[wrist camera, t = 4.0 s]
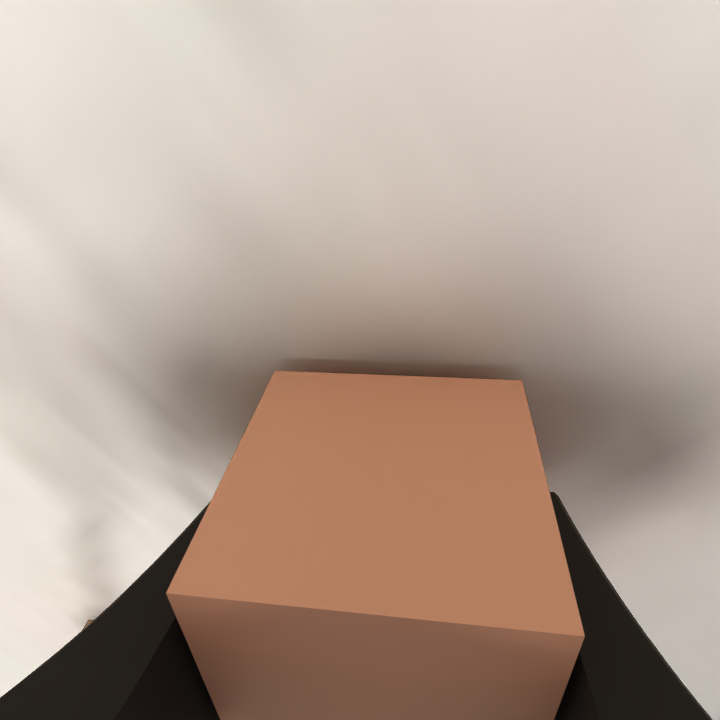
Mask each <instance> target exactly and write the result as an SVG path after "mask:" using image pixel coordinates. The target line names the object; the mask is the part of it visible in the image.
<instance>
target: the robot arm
mask: <svg viewBox="0 0 720 720" xmlns="http://www.w3.org/2000/svg"><path fill="white" fill-rule="evenodd" d="M550 496H551V500H552V504H553V508H554V512H555V516H556V520H557V524H558V529H559V533H560V537H561V541H562V545H563V549H564V553H565V557H566V561H567V565H568V569H569V573H570V578H571V582H572V586H573V590H574V594H575V598H576V602H577V606H578V610H579V614H580V618H581V623H582V627H583V631H584V635H585V637H584V640H583V643H582V646H581V648H580V651H579V654H578V656H577V659H576V662H575V664H574V667H573V670H572V673H571V675H570V678H569V681H568V683H567V686H566V689H565V691H564V694H563V697H562V700H561V702H560V705H559V708H558V710H557V713H556V716H555V718H554V720H712V719H711V717H710V716H709V715H708V714H707V713H706V711H705V710H704V709H703V708H702V706H701V705H700V704H699V703H698V702H697V700H696V699H695V698H694V697H693V695H692V694H691V693H690V692H689V690H688V689H687V688H686V687H685V685H684V684H683V683H682V681H681V680H680V679H679V678H678V676H677V675H676V674H675V672H674V671H673V670H672V668H671V667H670V666H669V665H668V663H667V662H666V661H665V659H664V658H663V656H662V655H661V654H660V652H659V651H658V650H657V648H656V647H655V646H654V644H653V643H652V642H651V640H650V639H649V638H648V636H647V635H646V634H645V632H644V631H643V629H642V628H641V627H640V625H639V624H638V622H637V621H636V619H635V618H634V617H633V615H632V614H631V612H630V611H629V609H628V608H627V606H626V605H625V604H624V602H623V601H622V599H621V598H620V596H619V595H618V593H617V592H616V590H615V589H614V587H613V586H612V584H611V583H610V581H609V580H608V578H607V577H606V575H605V574H604V572H603V571H602V569H601V568H600V566H599V564H598V563H597V561H596V560H595V558H594V556H593V555H592V553H591V552H590V550H589V548H588V547H587V545H586V543H585V542H584V540H583V539H582V537H581V535H580V534H579V532H578V530H577V528H576V527H575V525H574V523H573V522H572V520H571V518H570V516H569V515H568V513H567V511H566V509H565V507H564V506H563V504H562V502H561V500H560V498H559V497H558V496H557V495H556V494H555V493H554V492H550ZM210 502H211V501H210ZM210 502H209V504H210ZM209 504H208V505H207V506H206V507H205V508H204V509H203V510H202V511H201V513H200V514H199V515H198V516H197V517H196V518H195V519H194V520H193V521H192V523H191V524H190V525H189V526H188V527H187V528H186V529H185V530H184V531H183V532H182V533H181V535H180V536H179V537H178V538H177V539H176V540H175V541H174V542H173V543H172V544H171V545H170V546H169V547H168V548H167V549H166V551H165V552H164V553H163V554H162V555H161V556H160V557H159V558H158V559H157V560H156V561H155V562H154V563H153V564H152V565H151V566H150V567H149V568H148V569H147V570H146V571H145V572H144V573H143V574H142V575H141V576H140V577H139V578H138V579H137V580H136V581H135V582H134V583H133V584H132V585H131V586H130V587H129V588H128V589H127V590H126V591H125V592H124V593H123V594H122V595H121V596H120V597H119V598H118V599H116V600H115V601H114V602H113V603H112V604H111V605H110V606H109V607H108V608H107V609H106V610H105V611H104V612H102V613H101V614H100V615H99V616H98V617H97V618H96V619H95V620H94V621H93V622H91V623H90V624H89V625H88V626H87V627H86V628H85V629H84V630H82V631H81V632H80V633H79V634H78V635H77V636H75V637H74V638H73V639H72V640H71V641H70V642H69V643H67V644H66V645H65V646H64V647H63V648H62V649H60V650H59V651H58V652H57V653H56V654H54V655H53V656H52V657H51V658H49V659H48V660H47V661H46V662H44V663H43V664H42V665H41V666H40V667H38V668H37V669H36V670H35V671H33V672H32V673H31V674H30V675H28V676H27V677H26V678H25V679H23V680H22V681H21V682H20V683H19V684H17V685H16V686H15V687H13V688H12V689H11V690H10V691H8V692H7V693H6V694H4V695H3V696H2V697H1V698H0V720H220V718H219V716H218V713H217V711H216V709H215V706H214V704H213V702H212V699H211V697H210V695H209V692H208V690H207V688H206V685H205V683H204V681H203V678H202V676H201V674H200V671H199V669H198V667H197V664H196V662H195V660H194V657H193V655H192V653H191V650H190V648H189V646H188V643H187V641H186V639H185V636H184V634H183V632H182V629H181V627H180V625H179V622H178V620H177V618H176V615H175V613H174V611H173V608H172V606H171V604H170V601H169V599H168V597H167V594H166V592H167V590H168V588H169V586H170V584H171V582H172V580H173V578H174V576H175V574H176V572H177V570H178V567H179V565H180V563H181V561H182V559H183V557H184V555H185V553H186V551H187V549H188V547H189V545H190V543H191V541H192V539H193V537H194V535H195V533H196V531H197V529H198V527H199V525H200V523H201V520H202V518H203V516H204V514H205V512H206V510H207V508H208V506H209Z"/></svg>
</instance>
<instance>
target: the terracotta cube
mask: <svg viewBox="0 0 720 720" xmlns="http://www.w3.org/2000/svg"><path fill="white" fill-rule="evenodd" d="M166 594H167V597H168V599H169V601H170V604H171V606H172V608H173V611H174V613H175V615H176V618H177V620H178V622H179V625H180V627H181V629H182V632H183V634H184V636H185V639H186V641H187V643H188V646H189V648H190V650H191V653H192V655H193V657H194V660H195V662H196V664H197V667H198V669H199V671H200V674H201V676H202V678H203V681H204V683H205V685H206V688H207V690H208V692H209V695H210V697H211V699H212V702H213V704H214V706H215V709H216V711H217V713H218V716H219V718H220V720H554V718H555V716H556V713H557V710H558V708H559V705H560V702H561V700H562V697H563V694H564V691H565V689H566V686H567V683H568V681H569V678H570V675H571V673H572V670H573V667H574V664H575V662H576V659H577V656H578V654H579V651H580V648H581V646H582V643H583V640H584V637H585V635H584V631H583V627H582V623H581V618H580V614H579V610H578V606H577V602H576V598H575V594H574V590H573V586H572V582H571V578H570V573H569V569H568V565H567V561H566V557H565V553H564V549H563V545H562V541H561V537H560V533H559V529H558V524H557V520H556V516H555V512H554V508H553V504H552V500H551V496H550V492H549V488H548V484H547V479H546V475H545V471H544V467H543V463H542V459H541V455H540V451H539V447H538V443H537V439H536V435H535V430H534V426H533V422H532V418H531V414H530V410H529V406H528V402H527V398H526V394H525V390H524V386H523V381H522V380H500V379H474V378H449V377H423V376H397V375H372V374H346V373H320V372H295V371H274V373H273V375H272V377H271V379H270V381H269V383H268V386H267V388H266V390H265V392H264V394H263V396H262V398H261V400H260V402H259V404H258V406H257V408H256V410H255V412H254V414H253V416H252V418H251V420H250V422H249V424H248V426H247V428H246V431H245V433H244V435H243V437H242V439H241V441H240V443H239V445H238V447H237V449H236V451H235V453H234V455H233V457H232V459H231V461H230V463H229V465H228V467H227V469H226V471H225V473H224V475H223V478H222V480H221V482H220V484H219V486H218V488H217V490H216V492H215V494H214V496H213V498H212V500H211V502H210V504H209V506H208V508H207V510H206V512H205V514H204V516H203V518H202V520H201V523H200V525H199V527H198V529H197V531H196V533H195V535H194V537H193V539H192V541H191V543H190V545H189V547H188V549H187V551H186V553H185V555H184V557H183V559H182V561H181V563H180V565H179V567H178V570H177V572H176V574H175V576H174V578H173V580H172V582H171V584H170V586H169V588H168V590H167V592H166Z"/></svg>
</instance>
